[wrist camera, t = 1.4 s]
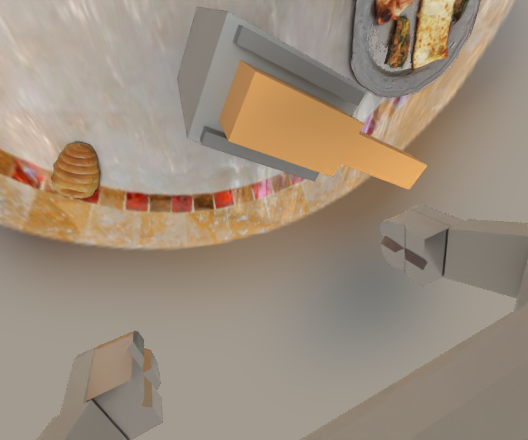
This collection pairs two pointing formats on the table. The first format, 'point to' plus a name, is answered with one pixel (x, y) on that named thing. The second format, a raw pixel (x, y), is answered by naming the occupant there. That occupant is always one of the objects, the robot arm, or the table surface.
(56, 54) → the table surface
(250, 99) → the lever
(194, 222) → the table surface
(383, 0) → the food plate
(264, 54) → the tall grey bin
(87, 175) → the pastry
